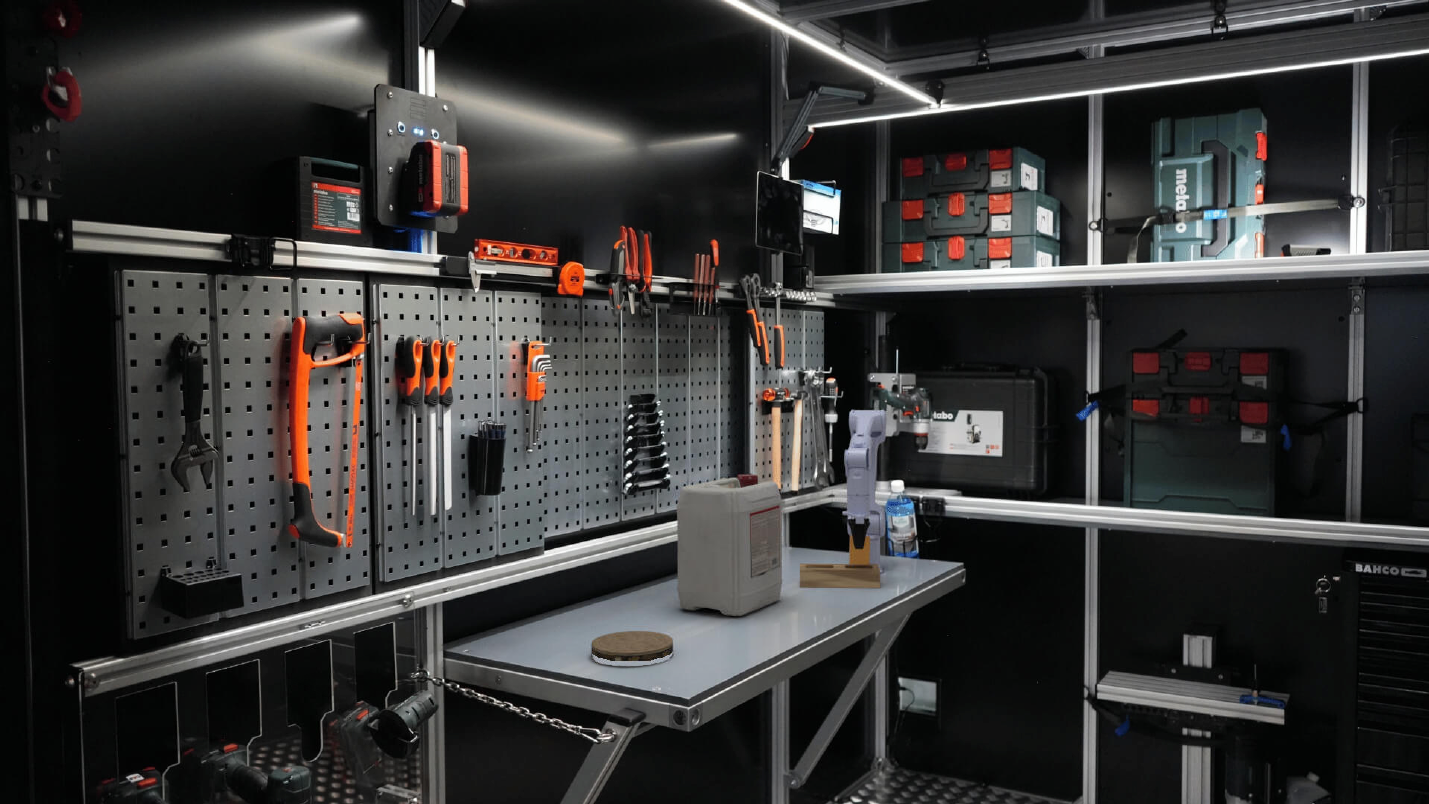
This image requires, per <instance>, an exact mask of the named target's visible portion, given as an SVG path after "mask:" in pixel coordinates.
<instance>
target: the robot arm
mask: <svg viewBox="0 0 1429 804" xmlns="http://www.w3.org/2000/svg"><path fill="white" fill-rule="evenodd" d="M848 414H849V416H848V417H849V418H848V426H849V432H850V437H851V438H850V442H849V447H848V449H845V450H844V460H843V461H844V467H845V477H846V508H847V509H846V510H845V511H842V515H843V516H847V519H846V521H847V534H848V535H849V536H850V535H852V536H853V542H854V547H855V549H863V548H864V544H865V537H866V536H870V560H869V564H878V566H879V569H880V574H883V572H884V571H883V569H882V567H881V538H883V537H884V536H885V534H886V512H885V510H884V507H883V506H881V505H880V504H879V503H877V502H876V484H877V483H876V481H877V453H878V449H879V445H880V444H882V443H884V442H885V440H886V437H887V432H886V431H887V412H886V411H885V410H884V409H881V410H879V409H878V410H877V409H876V410H875V409H871V410H870V409H868V410H867V409H864V410H863V409H862V410H860V409H857V410H856V409H851V411H849V413H848Z"/></svg>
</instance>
